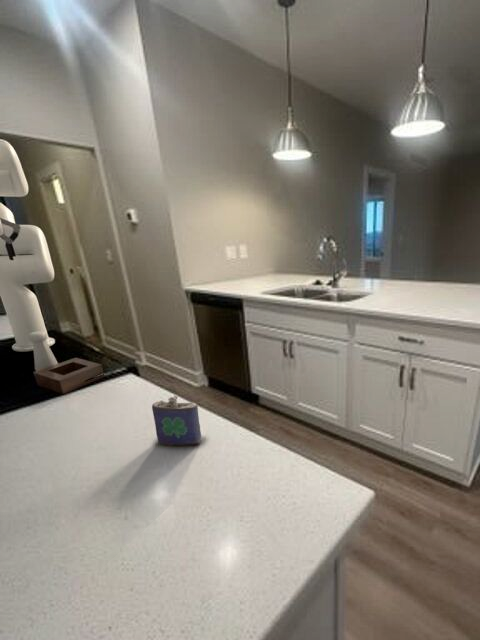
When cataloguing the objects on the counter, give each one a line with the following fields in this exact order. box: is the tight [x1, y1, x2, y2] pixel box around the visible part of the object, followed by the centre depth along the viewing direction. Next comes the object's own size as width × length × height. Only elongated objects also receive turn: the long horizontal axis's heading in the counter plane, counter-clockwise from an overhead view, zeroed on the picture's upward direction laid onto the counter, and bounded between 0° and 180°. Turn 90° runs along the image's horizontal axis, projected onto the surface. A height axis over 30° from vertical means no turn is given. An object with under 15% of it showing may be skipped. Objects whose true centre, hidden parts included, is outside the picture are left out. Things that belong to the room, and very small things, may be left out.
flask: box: [151, 395, 203, 447], centre depth 70 cm, size 9×3×11 cm, turn 87°
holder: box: [33, 357, 105, 395], centre depth 98 cm, size 12×12×4 cm
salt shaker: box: [28, 331, 59, 372], centre depth 101 cm, size 6×6×13 cm
